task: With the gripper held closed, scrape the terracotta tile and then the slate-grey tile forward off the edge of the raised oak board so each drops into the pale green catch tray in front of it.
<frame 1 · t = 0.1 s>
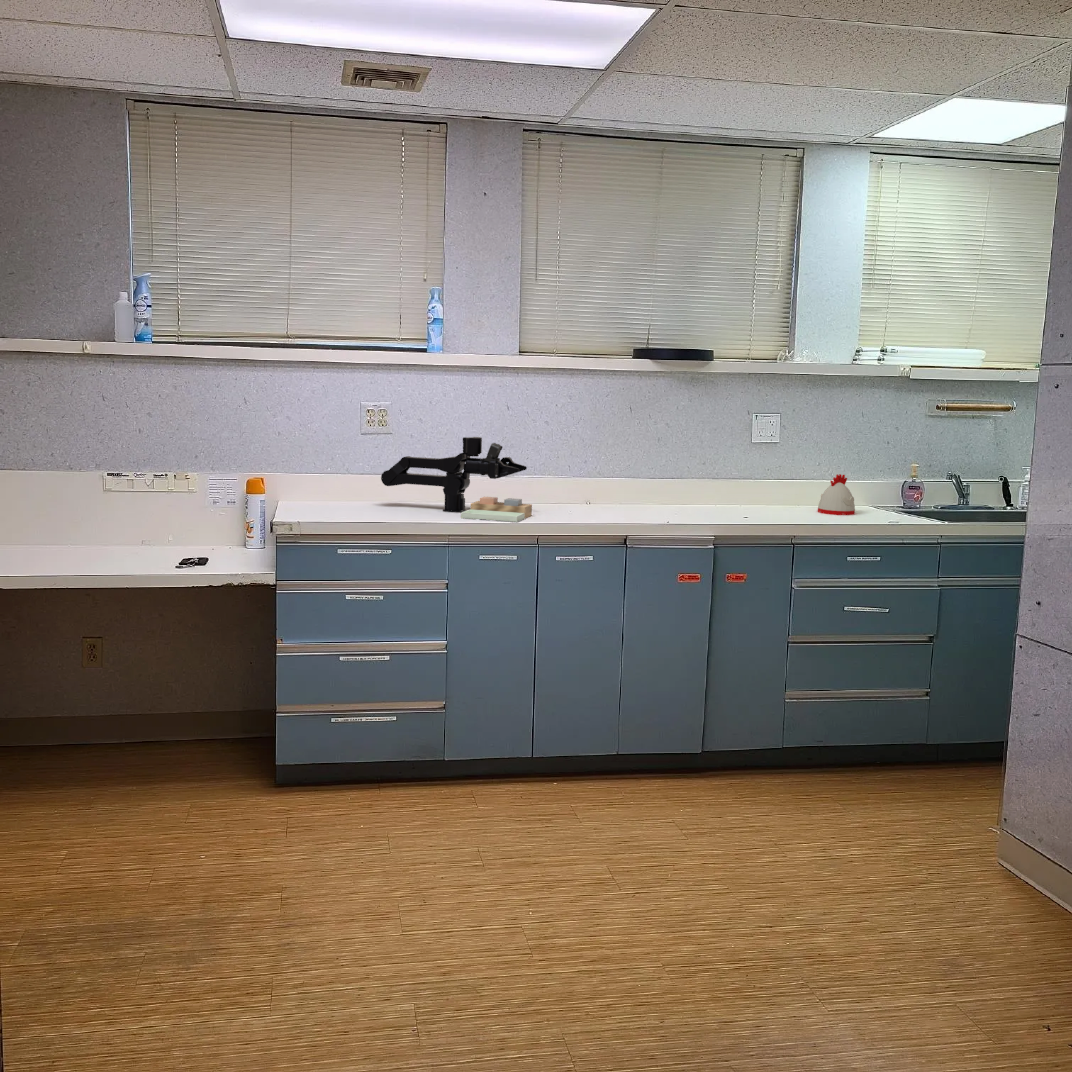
hand: (522, 469, 378), 17 cm above the worktop, fingers open, 9 cm apart
catch tray: (492, 518, 371), on the worktop
slate tile: (513, 505, 378), point 4 cm above the worktop, touching oak board
kitchen timer: (836, 513, 417), on the worktop
oak board: (501, 515, 380), on the worktop
terracotta tile: (488, 503, 380), point 4 cm above the worktop, touching oak board
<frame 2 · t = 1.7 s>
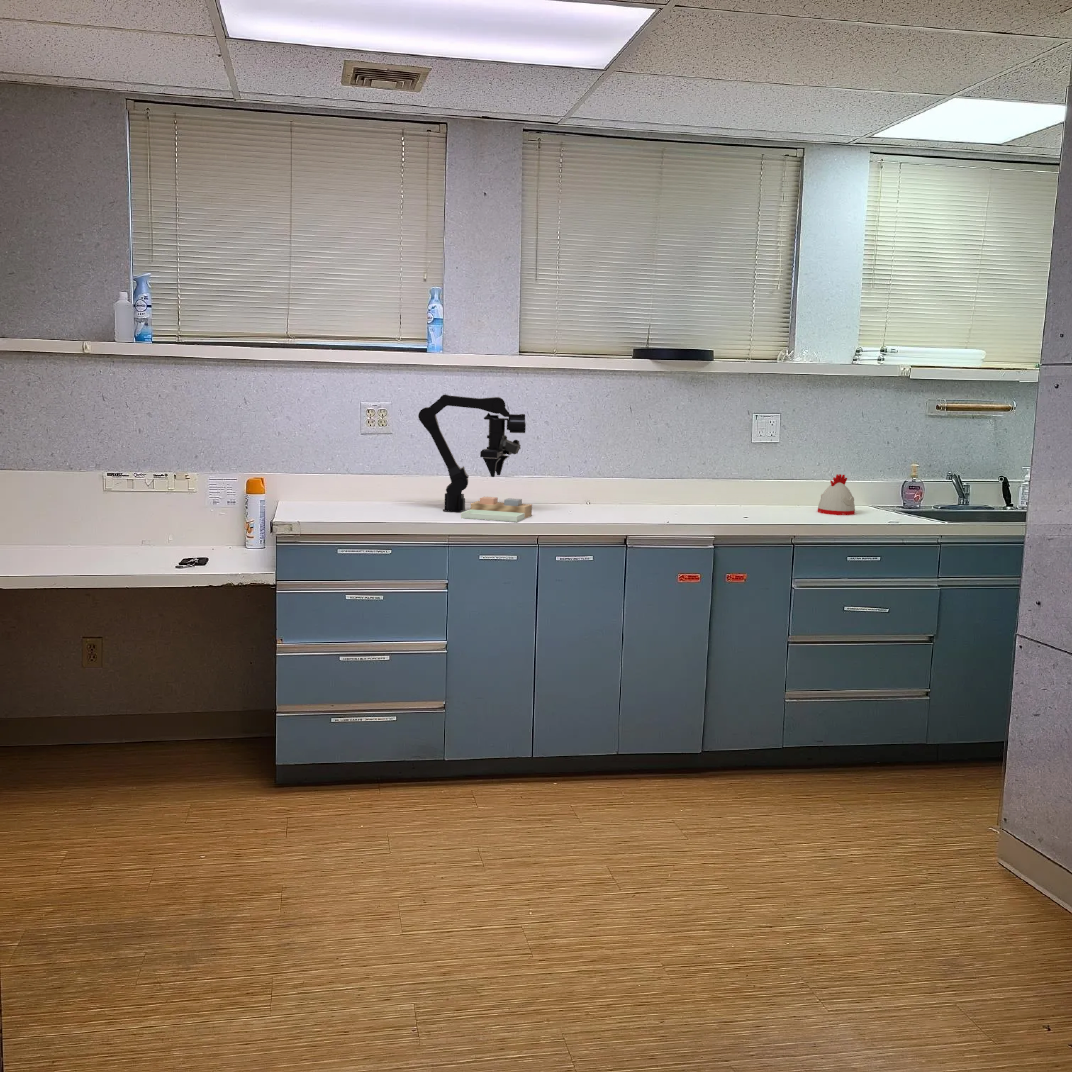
hand: (495, 476, 386), 13 cm above the worktop, fingers open, 6 cm apart
nothing on the worktop moved.
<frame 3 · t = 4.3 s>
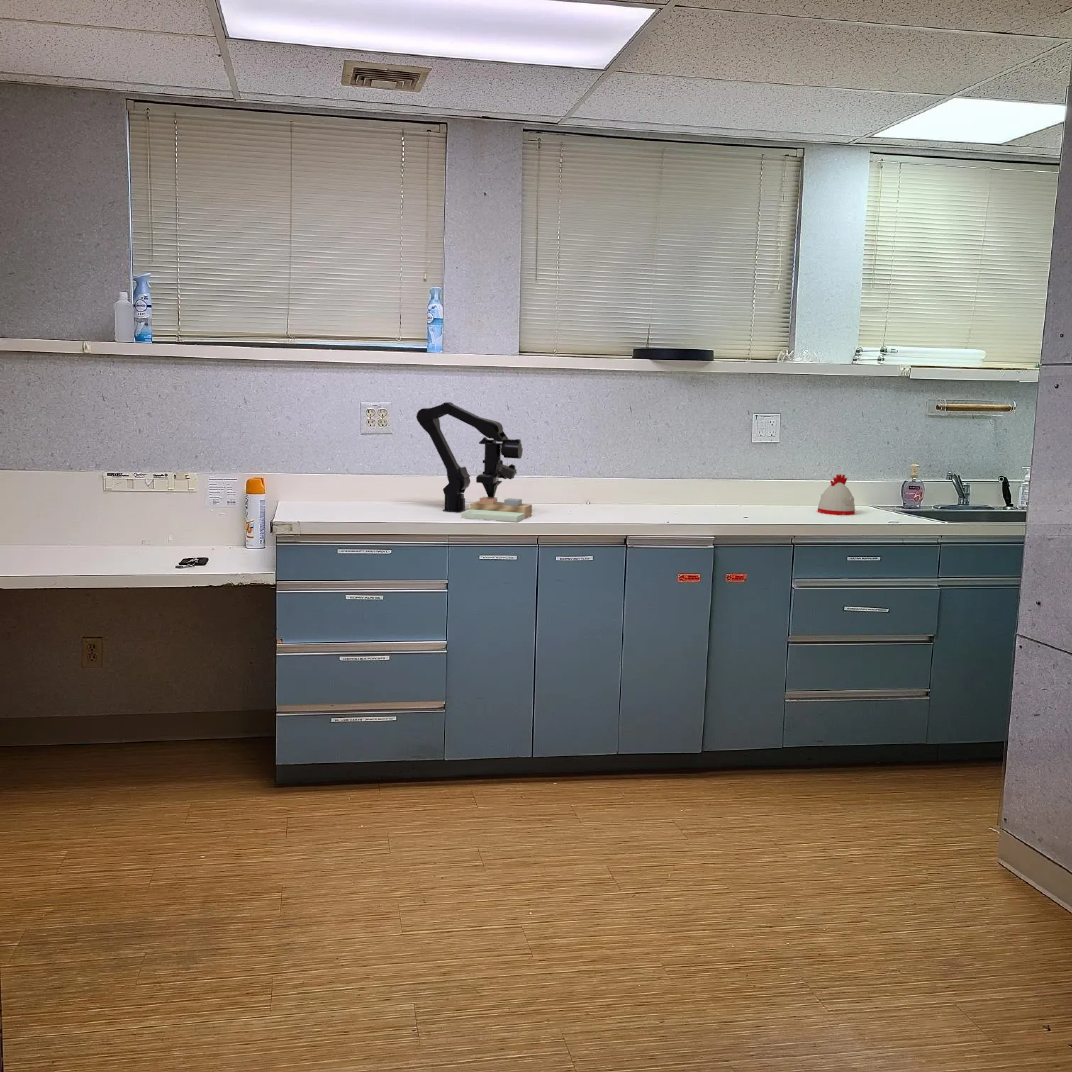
hand: (491, 500, 383), 5 cm above the worktop, fingers closed
terracotta tile: (488, 503, 380), point 4 cm above the worktop, touching gripper
everything else where it was.
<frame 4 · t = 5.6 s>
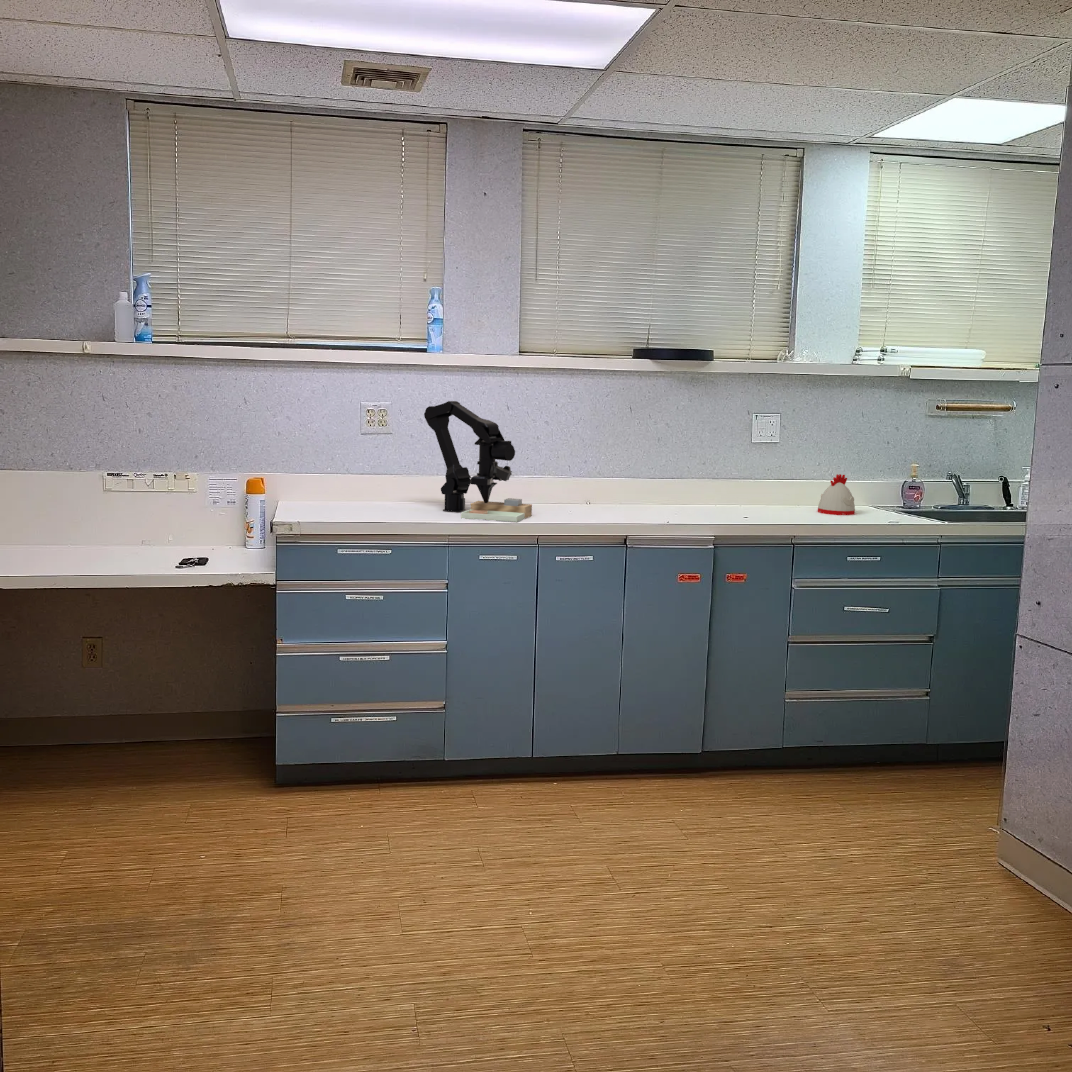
hand: (486, 502, 378), 5 cm above the worktop, fingers closed
terracotta tile: (478, 510, 372), point 2 cm above the worktop, tilted 180°, touching catch tray
everything else where it was.
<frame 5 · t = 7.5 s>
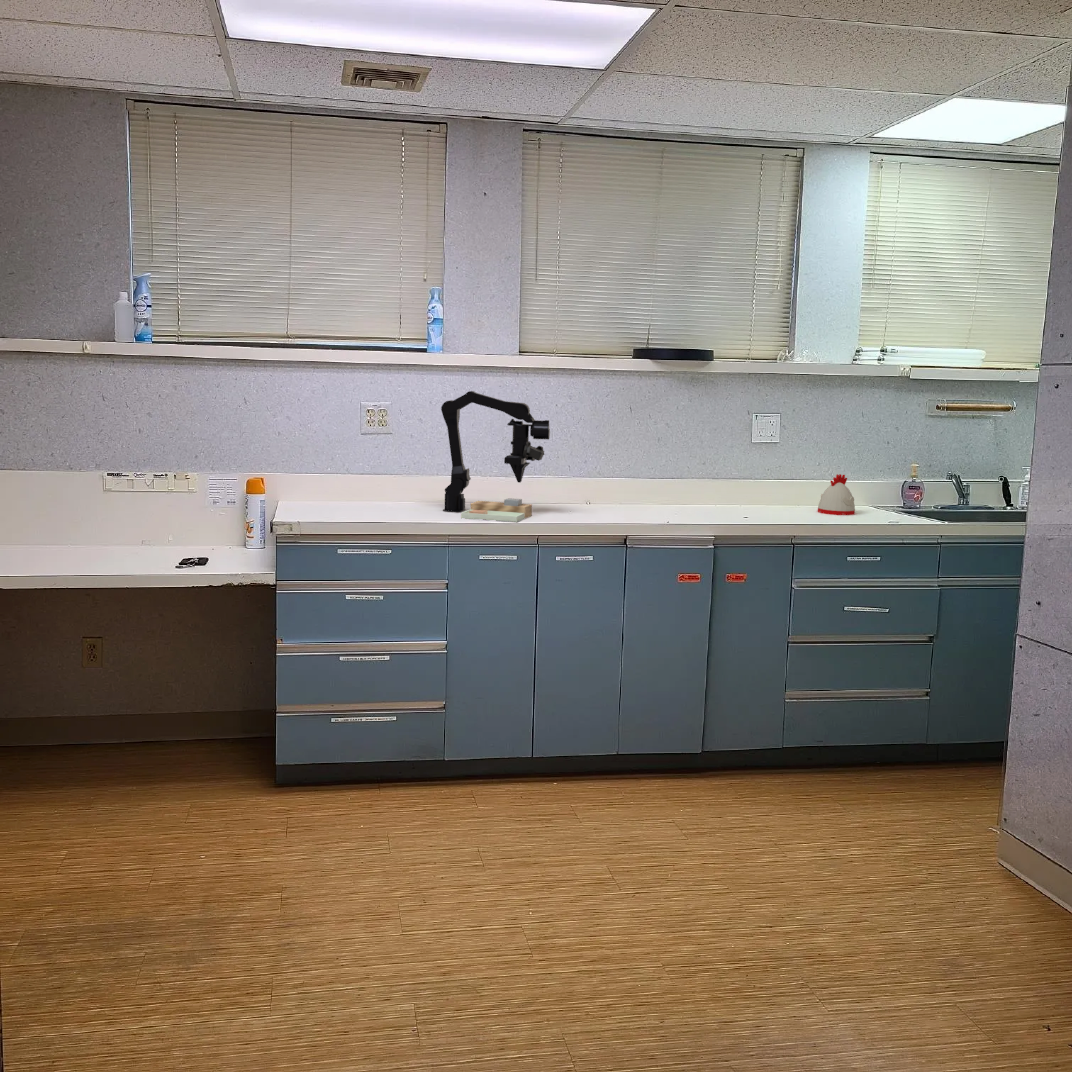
hand: (519, 482, 384), 11 cm above the worktop, fingers closed
nothing on the worktop moved.
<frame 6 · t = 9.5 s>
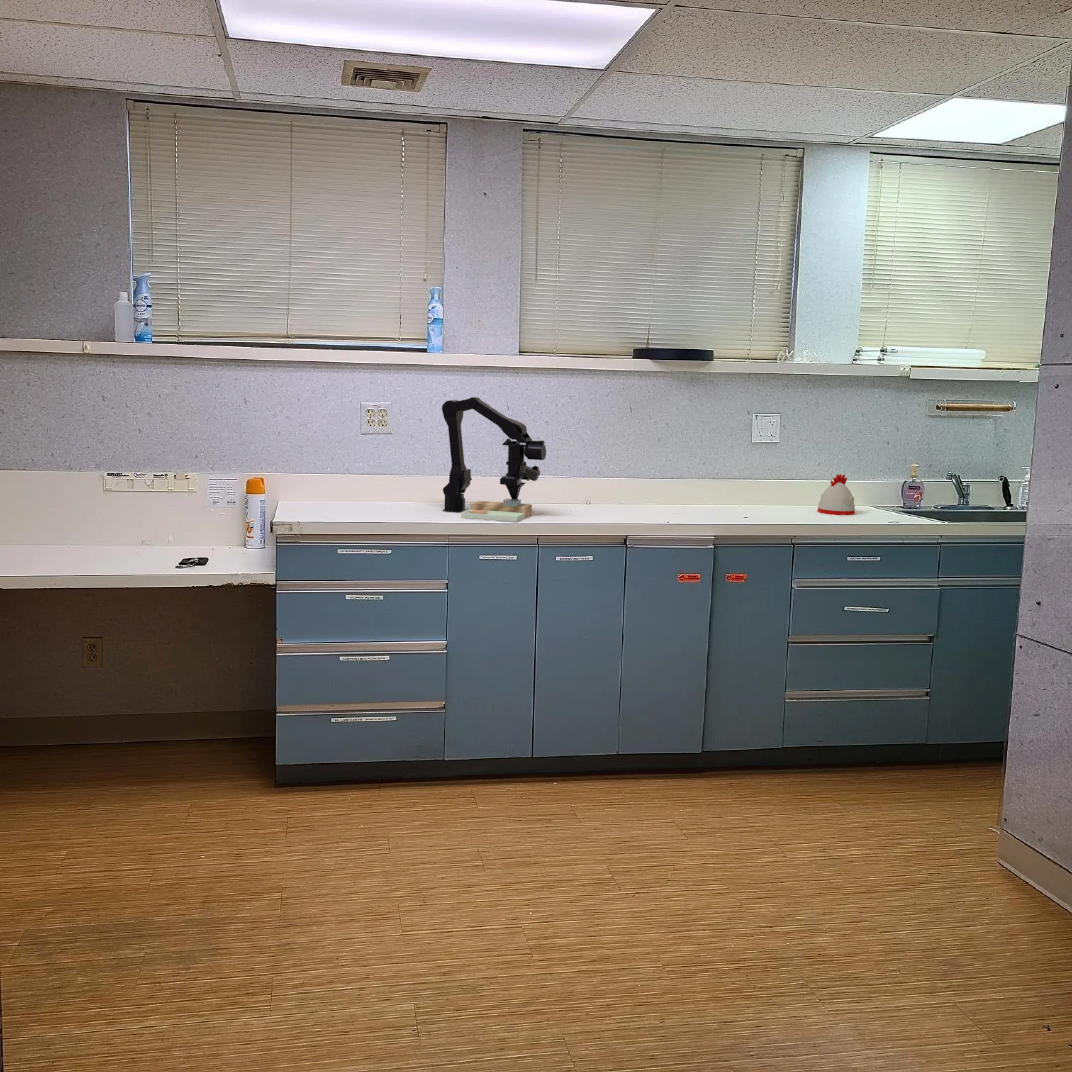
hand: (514, 502, 380), 5 cm above the worktop, fingers closed
slate tile: (511, 505, 377), point 4 cm above the worktop, touching gripper
everything else where it was.
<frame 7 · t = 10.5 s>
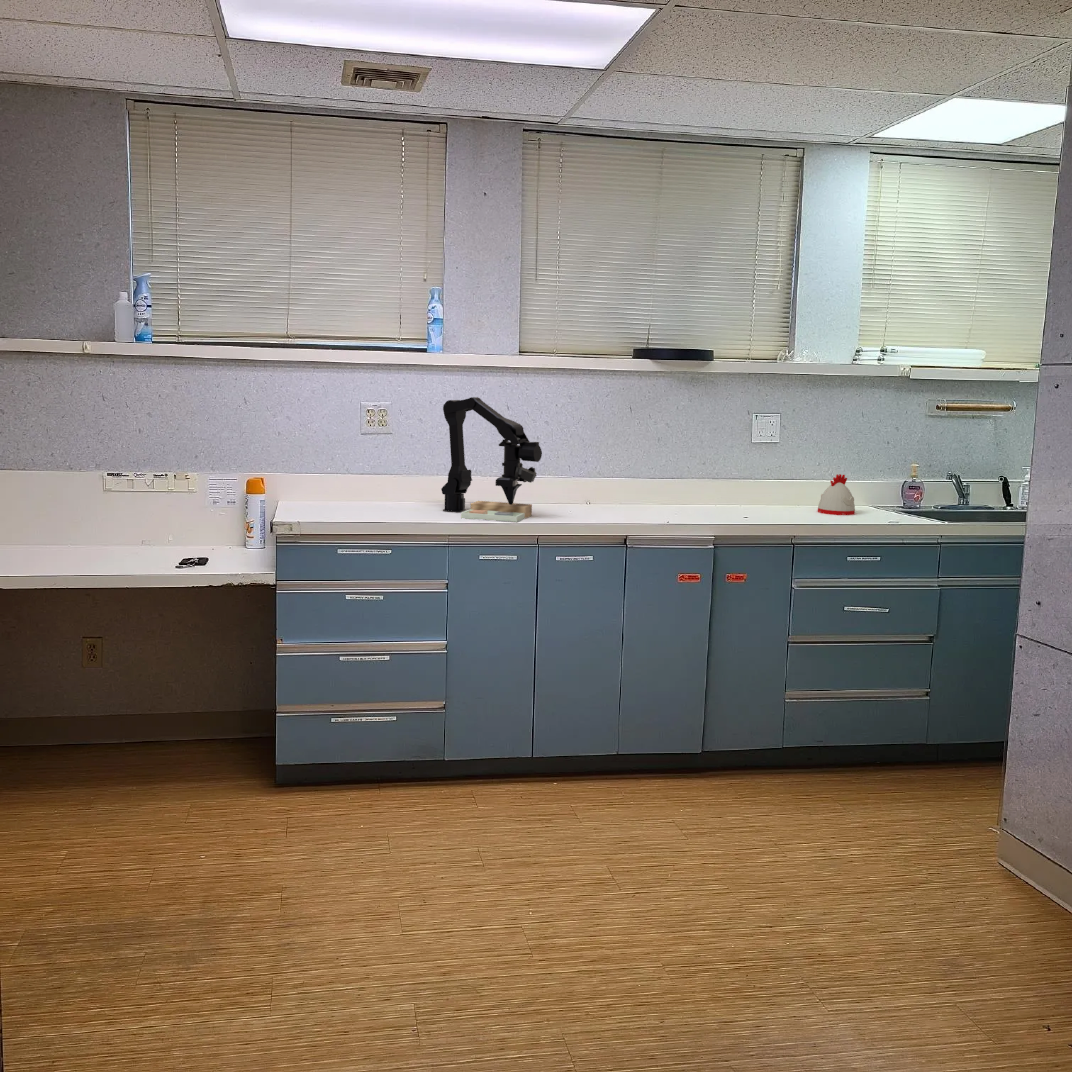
hand: (510, 504, 375), 5 cm above the worktop, fingers closed
slate tile: (503, 512, 369), point 2 cm above the worktop, tilted 180°, touching catch tray
everything else where it was.
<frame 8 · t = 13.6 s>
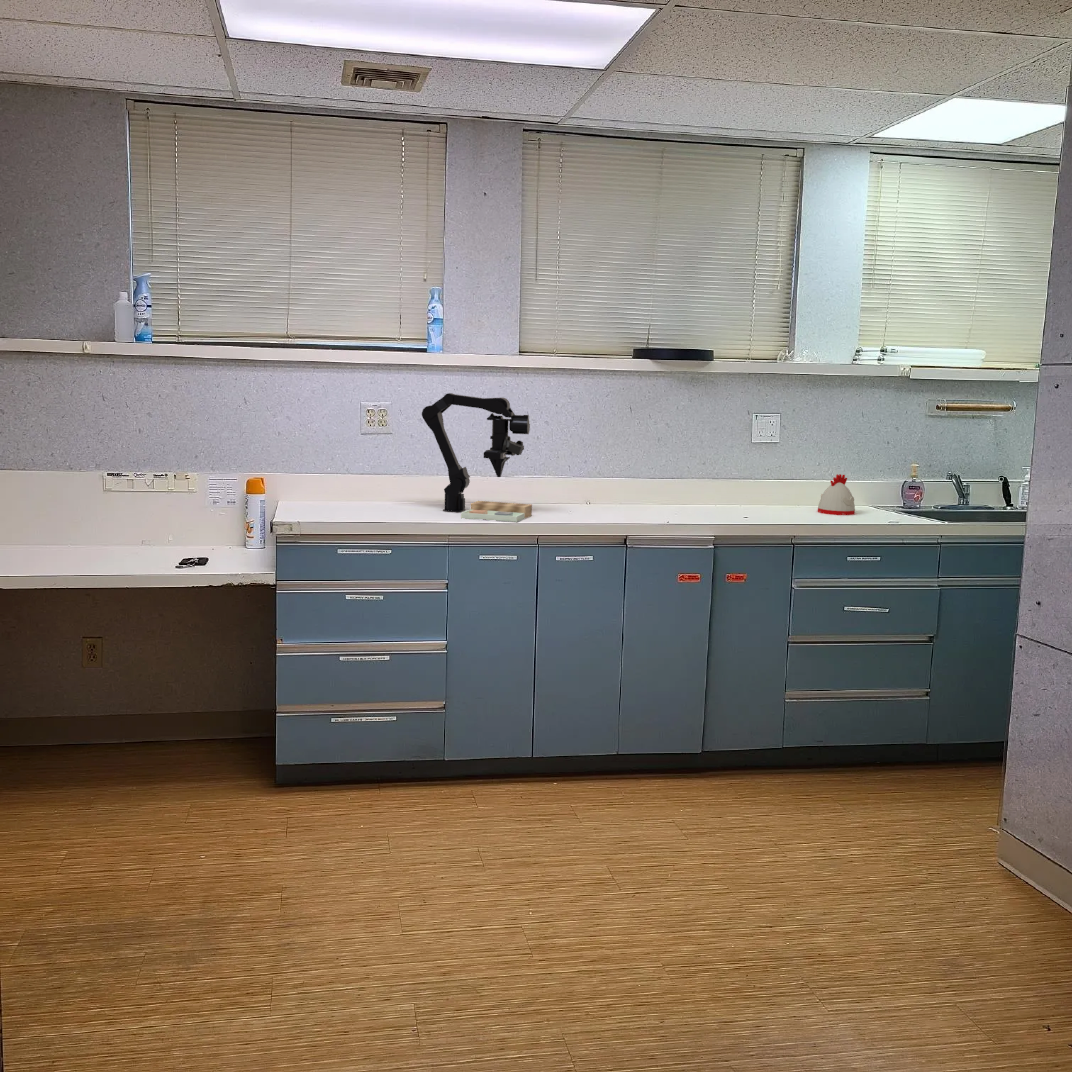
hand: (499, 477, 383), 13 cm above the worktop, fingers closed
nothing on the worktop moved.
at the end: terracotta tile inside the target area on the catch tray (5.1 cm from its centre), point 2.4 cm above the catch tray's base; slate tile inside the target area on the catch tray (4.2 cm from its centre), point 2.4 cm above the catch tray's base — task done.
